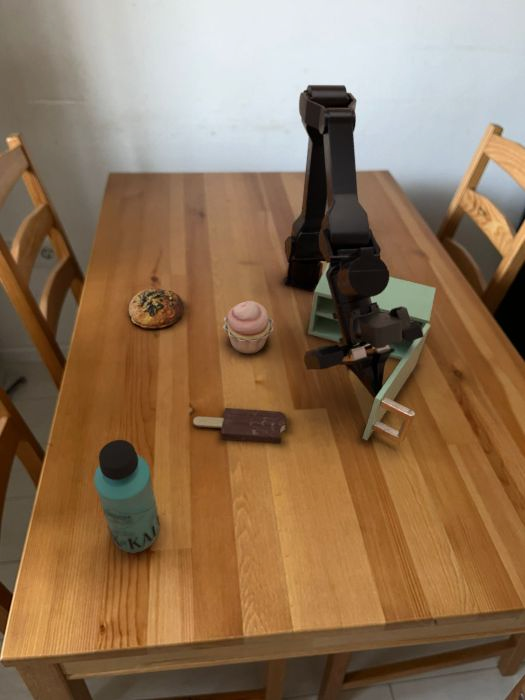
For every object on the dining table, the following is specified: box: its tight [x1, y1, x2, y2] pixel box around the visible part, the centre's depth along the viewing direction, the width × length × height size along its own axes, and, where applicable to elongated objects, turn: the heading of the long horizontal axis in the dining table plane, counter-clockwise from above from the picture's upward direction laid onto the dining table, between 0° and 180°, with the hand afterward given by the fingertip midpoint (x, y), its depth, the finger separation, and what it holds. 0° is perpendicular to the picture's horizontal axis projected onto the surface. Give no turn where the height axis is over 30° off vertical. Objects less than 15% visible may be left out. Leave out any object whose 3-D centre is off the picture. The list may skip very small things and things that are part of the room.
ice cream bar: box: [192, 407, 287, 444], centre depth 83 cm, size 5×2×15 cm
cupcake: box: [222, 300, 275, 355], centre depth 94 cm, size 9×9×10 cm
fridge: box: [307, 263, 437, 361], centre depth 97 cm, size 10×21×11 cm, turn 70°
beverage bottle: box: [93, 439, 161, 553], centre depth 62 cm, size 6×7×20 cm
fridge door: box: [362, 323, 431, 445], centre depth 84 cm, size 6×21×10 cm, turn 146°
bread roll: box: [128, 287, 185, 330], centre depth 101 cm, size 11×11×5 cm
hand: (377, 397), depth 80 cm, fingers closed
